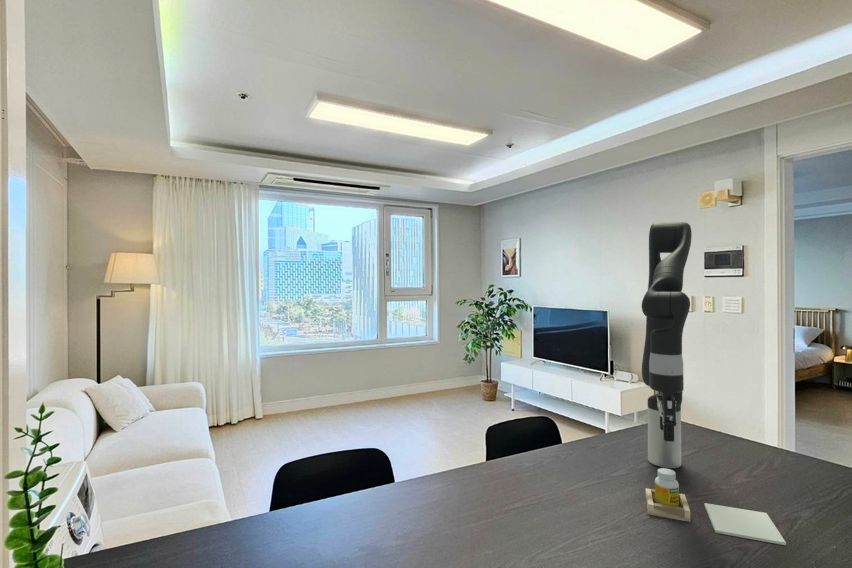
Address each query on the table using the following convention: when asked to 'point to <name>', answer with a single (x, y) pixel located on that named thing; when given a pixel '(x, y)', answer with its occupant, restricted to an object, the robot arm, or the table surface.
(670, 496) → the supplement bottle
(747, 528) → the coaster plate
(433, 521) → the table surface
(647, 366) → the robot arm
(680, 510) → the collar
